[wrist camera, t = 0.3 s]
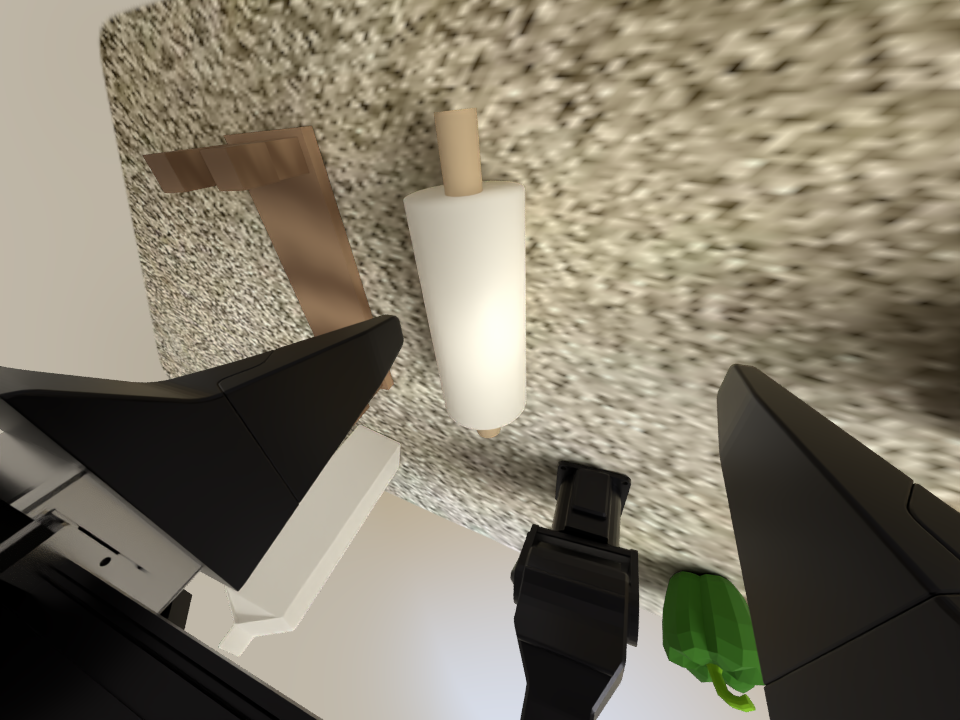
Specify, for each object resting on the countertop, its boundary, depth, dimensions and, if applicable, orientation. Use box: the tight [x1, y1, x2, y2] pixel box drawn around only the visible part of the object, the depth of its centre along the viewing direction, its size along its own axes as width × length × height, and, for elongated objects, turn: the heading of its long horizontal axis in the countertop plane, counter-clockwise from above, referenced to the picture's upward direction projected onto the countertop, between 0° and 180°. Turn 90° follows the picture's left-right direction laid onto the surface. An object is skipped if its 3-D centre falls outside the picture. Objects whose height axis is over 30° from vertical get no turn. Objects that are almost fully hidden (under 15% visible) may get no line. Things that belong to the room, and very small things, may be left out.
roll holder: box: [143, 126, 394, 426], centre depth 27 cm, size 22×7×6 cm, turn 5°
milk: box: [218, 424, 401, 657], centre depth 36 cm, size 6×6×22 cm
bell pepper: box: [662, 571, 764, 712], centre depth 33 cm, size 8×8×10 cm
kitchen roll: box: [403, 108, 526, 438], centre depth 22 cm, size 22×6×6 cm, turn 5°
